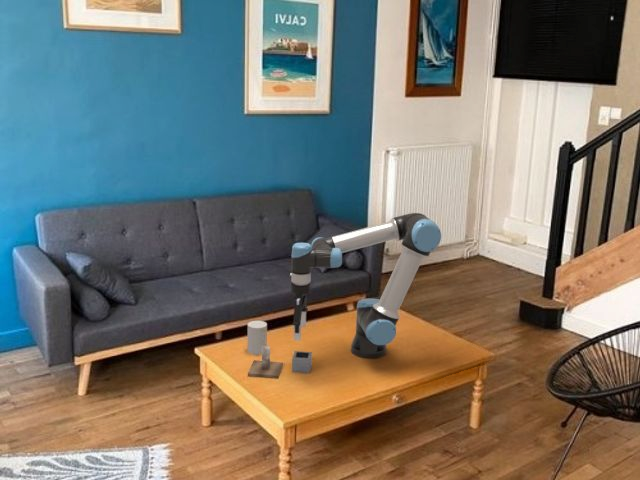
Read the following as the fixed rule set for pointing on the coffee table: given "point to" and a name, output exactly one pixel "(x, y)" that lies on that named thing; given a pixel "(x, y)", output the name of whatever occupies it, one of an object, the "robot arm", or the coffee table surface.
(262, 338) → the gold-veined taupe cylinder
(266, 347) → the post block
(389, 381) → the coffee table surface
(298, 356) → the collar
